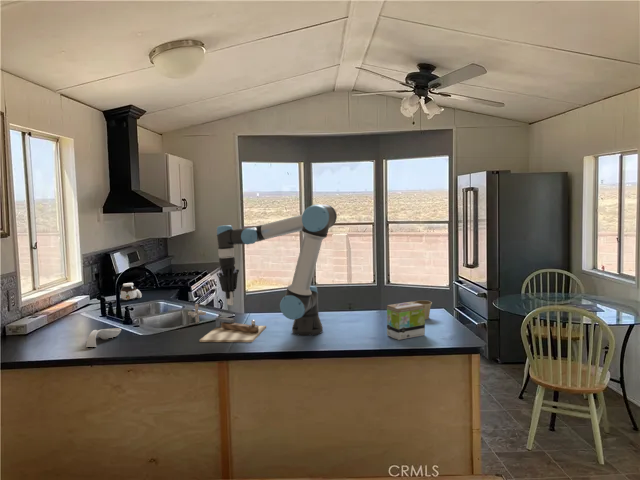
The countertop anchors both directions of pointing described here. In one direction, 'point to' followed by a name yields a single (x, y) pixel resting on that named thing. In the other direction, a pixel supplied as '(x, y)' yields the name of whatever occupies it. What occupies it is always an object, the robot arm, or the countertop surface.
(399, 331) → the tea box
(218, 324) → the keeper bracket
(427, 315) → the flower pot
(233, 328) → the brown streaked bar
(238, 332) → the maple board
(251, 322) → the pintle
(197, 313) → the pipe connector
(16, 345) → the countertop surface
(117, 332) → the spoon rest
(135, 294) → the spread jar
